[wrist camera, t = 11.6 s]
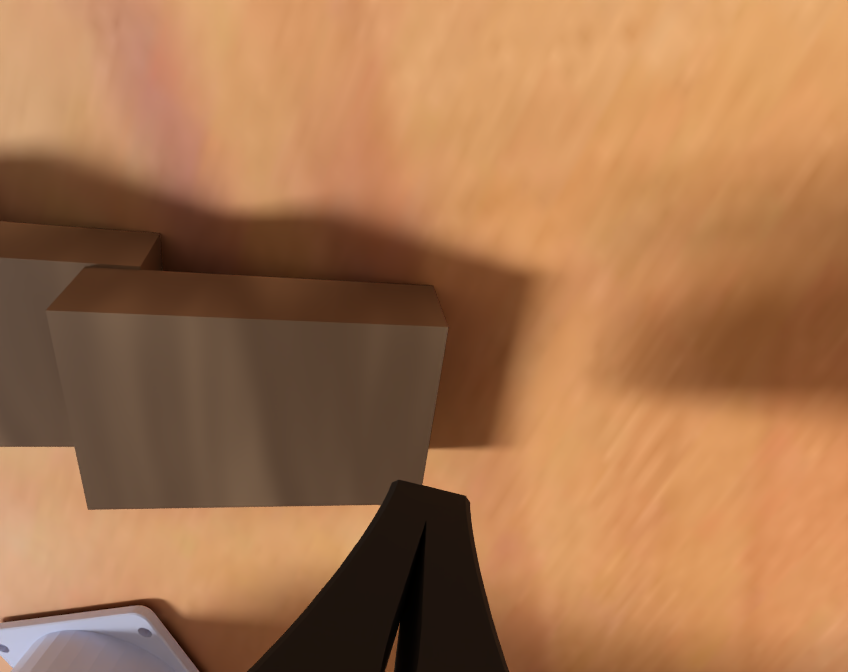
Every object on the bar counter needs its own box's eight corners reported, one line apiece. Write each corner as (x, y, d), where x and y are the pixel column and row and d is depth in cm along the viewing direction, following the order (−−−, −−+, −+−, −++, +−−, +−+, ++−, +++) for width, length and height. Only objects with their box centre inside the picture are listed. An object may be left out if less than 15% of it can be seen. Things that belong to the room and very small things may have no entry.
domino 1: (448, 327, 12) (45, 310, 11) (418, 504, 14) (87, 509, 13) (433, 285, 14) (84, 266, 12) (409, 450, 16) (115, 449, 15)
